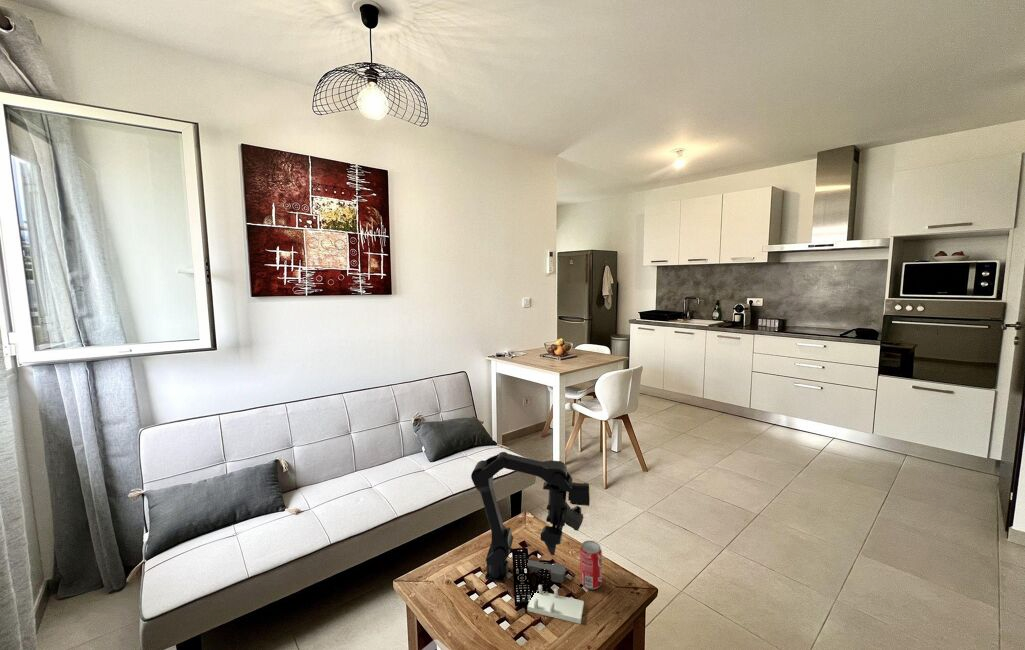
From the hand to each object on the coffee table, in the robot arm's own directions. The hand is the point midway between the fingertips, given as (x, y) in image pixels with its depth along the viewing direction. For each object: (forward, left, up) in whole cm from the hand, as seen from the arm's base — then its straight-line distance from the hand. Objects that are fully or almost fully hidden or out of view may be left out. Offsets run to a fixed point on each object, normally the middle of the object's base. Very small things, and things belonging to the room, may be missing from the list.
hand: (555, 546), depth 135 cm
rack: (+2, -11, -12) cm, 17 cm away
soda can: (+11, +2, -12) cm, 17 cm away
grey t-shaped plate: (-4, +2, -12) cm, 13 cm away
